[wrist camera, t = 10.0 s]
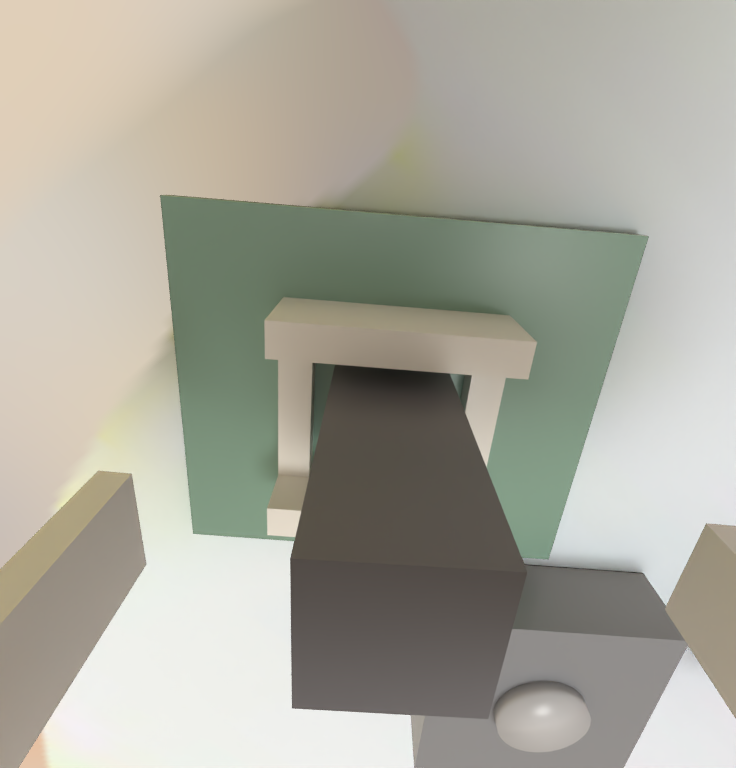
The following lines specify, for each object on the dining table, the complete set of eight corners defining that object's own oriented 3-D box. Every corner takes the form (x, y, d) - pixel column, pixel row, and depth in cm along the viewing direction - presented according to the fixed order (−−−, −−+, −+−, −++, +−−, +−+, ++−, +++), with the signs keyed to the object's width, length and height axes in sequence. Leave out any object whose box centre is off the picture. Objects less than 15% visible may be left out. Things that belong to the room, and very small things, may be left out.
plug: (445, 361, 17) (527, 572, 8) (430, 466, 19) (483, 736, 10) (337, 355, 17) (290, 558, 8) (333, 460, 19) (292, 726, 9)
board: (639, 234, 16) (710, 247, 12) (543, 549, 21) (574, 617, 18) (167, 194, 15) (110, 197, 12) (197, 524, 21) (164, 588, 18)
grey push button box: (643, 573, 22) (699, 655, 18) (586, 706, 26) (622, 795, 22) (433, 558, 21) (445, 637, 18) (409, 694, 25) (415, 782, 22)
